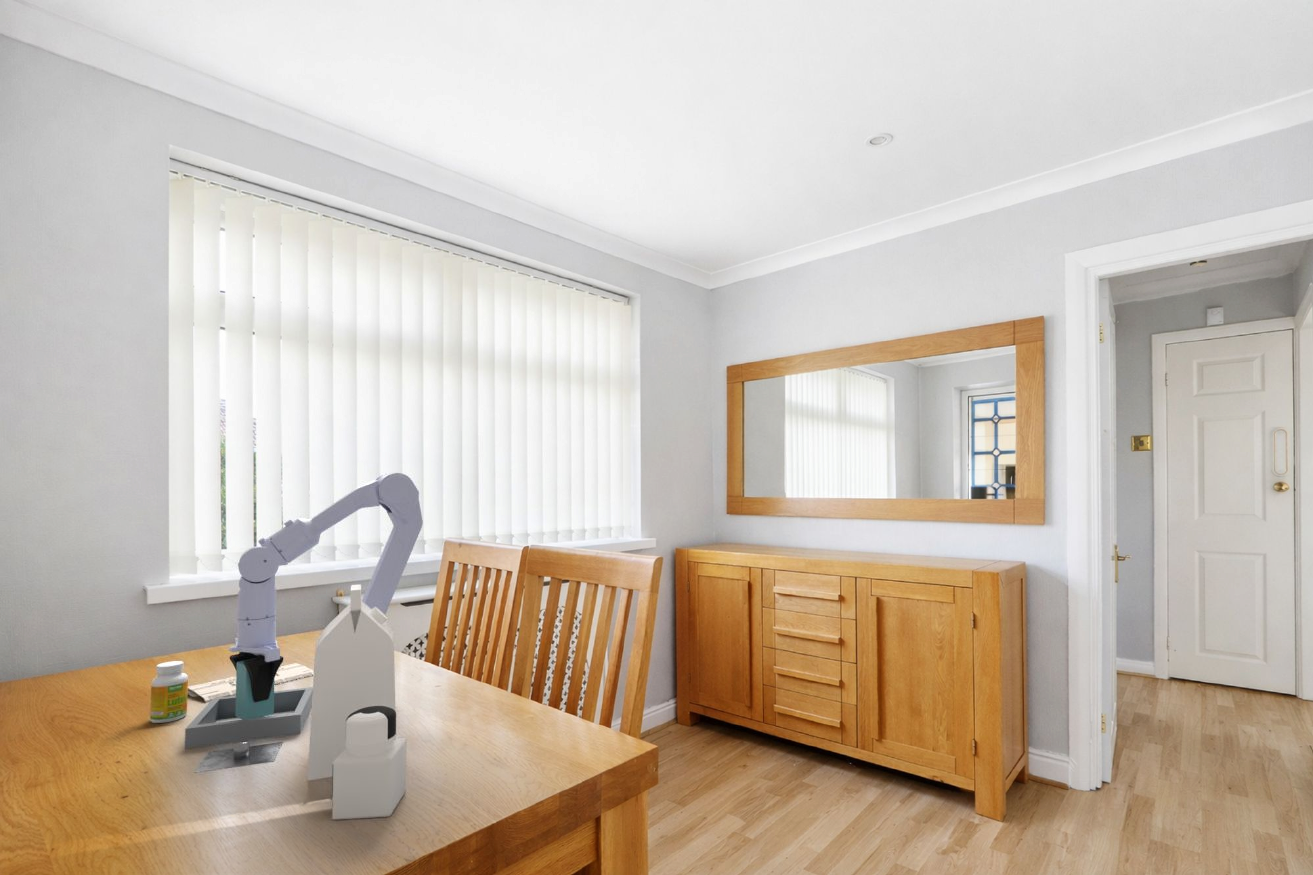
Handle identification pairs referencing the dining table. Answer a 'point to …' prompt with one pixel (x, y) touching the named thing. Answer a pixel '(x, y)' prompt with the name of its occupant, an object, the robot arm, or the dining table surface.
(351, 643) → the milk
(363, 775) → the medicine bottle
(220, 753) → the stud plate
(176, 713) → the supplement bottle
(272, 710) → the strut
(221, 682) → the newspaper
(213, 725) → the bin
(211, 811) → the dining table surface
